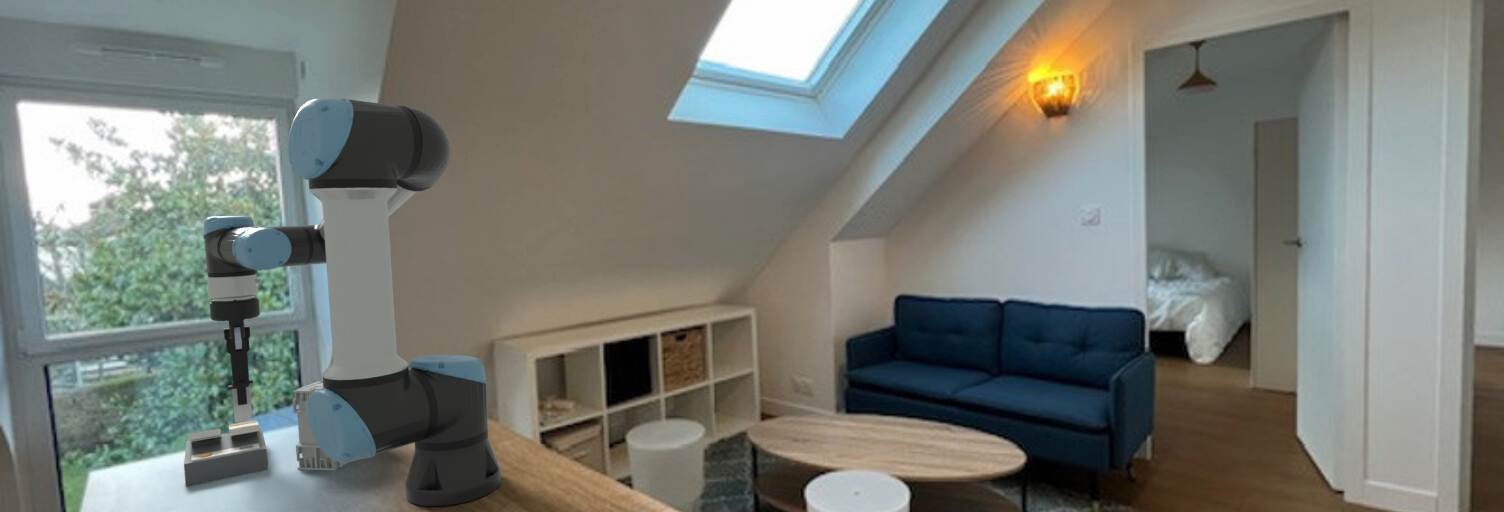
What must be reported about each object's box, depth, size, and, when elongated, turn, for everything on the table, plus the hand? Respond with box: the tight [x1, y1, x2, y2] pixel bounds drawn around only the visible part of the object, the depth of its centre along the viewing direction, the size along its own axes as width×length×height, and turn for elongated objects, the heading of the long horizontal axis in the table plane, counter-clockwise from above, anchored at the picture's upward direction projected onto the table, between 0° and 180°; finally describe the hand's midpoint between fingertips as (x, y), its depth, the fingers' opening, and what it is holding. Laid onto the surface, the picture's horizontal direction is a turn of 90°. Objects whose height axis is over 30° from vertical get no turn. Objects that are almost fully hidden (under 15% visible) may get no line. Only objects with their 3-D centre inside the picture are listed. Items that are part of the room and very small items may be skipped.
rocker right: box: [228, 420, 260, 436], centre depth 136 cm, size 10×5×1 cm, turn 38°
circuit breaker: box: [292, 379, 349, 471], centre depth 137 cm, size 8×14×15 cm, turn 174°
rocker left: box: [187, 428, 221, 441], centre depth 133 cm, size 10×5×1 cm, turn 38°
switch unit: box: [183, 427, 269, 487], centre depth 133 cm, size 16×12×5 cm
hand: (243, 419), depth 134 cm, fingers closed
